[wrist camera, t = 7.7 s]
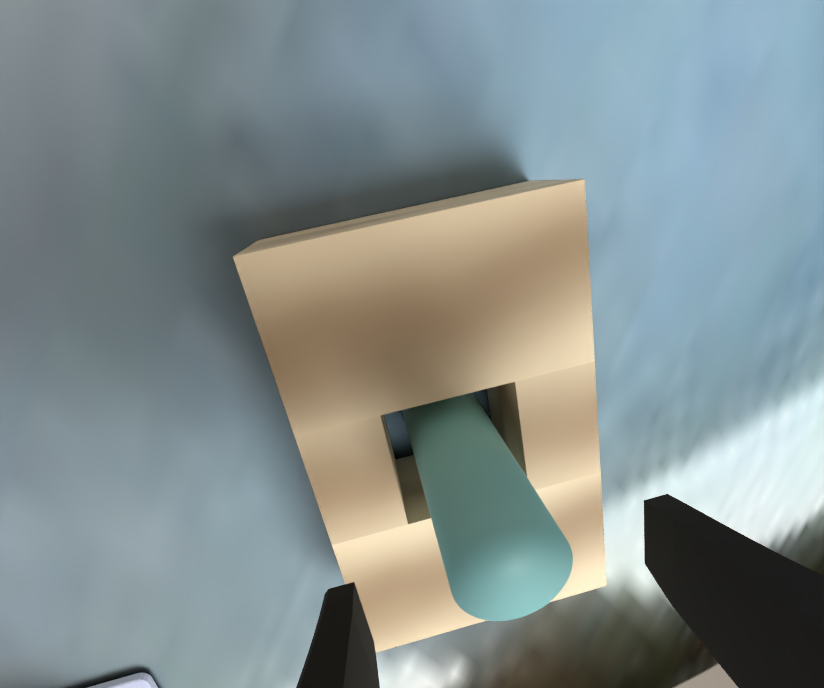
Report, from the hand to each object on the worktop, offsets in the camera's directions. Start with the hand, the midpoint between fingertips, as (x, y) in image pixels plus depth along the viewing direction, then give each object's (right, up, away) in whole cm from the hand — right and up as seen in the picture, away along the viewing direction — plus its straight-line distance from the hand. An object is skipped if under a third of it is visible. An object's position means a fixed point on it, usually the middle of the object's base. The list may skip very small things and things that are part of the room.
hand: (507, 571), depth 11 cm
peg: (-1, +3, +8) cm, 9 cm away
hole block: (-1, +3, +8) cm, 9 cm away
